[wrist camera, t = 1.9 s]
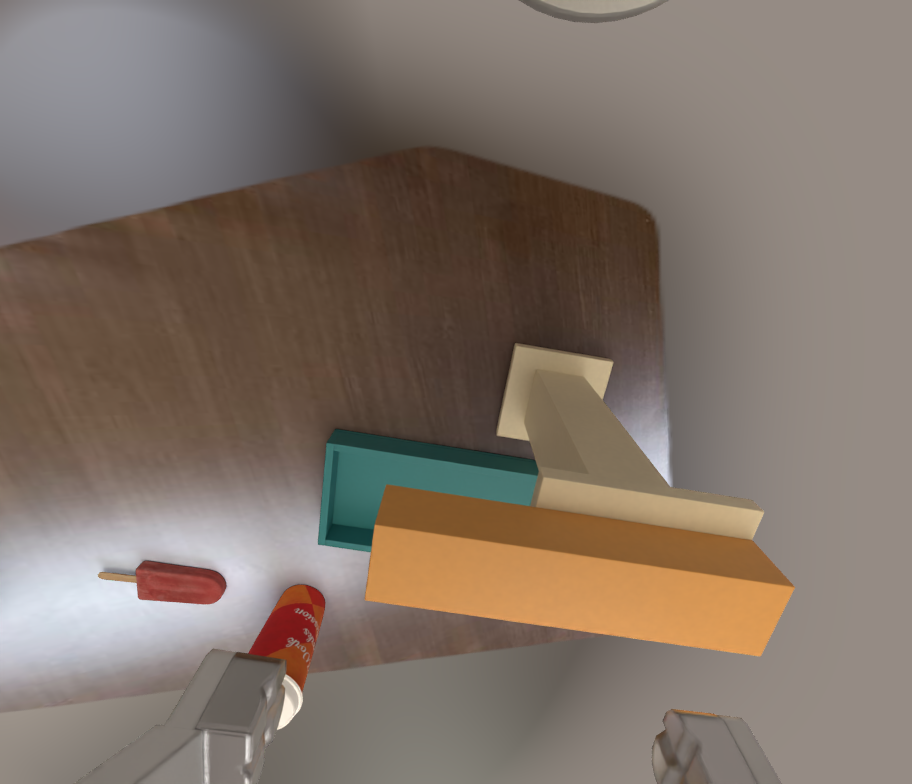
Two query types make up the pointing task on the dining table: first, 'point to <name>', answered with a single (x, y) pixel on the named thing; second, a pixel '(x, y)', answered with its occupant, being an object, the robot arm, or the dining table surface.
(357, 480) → the tray
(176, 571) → the popsicle
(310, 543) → the dining table surface
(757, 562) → the orange rectangular bar
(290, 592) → the paper cup
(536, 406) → the stand
